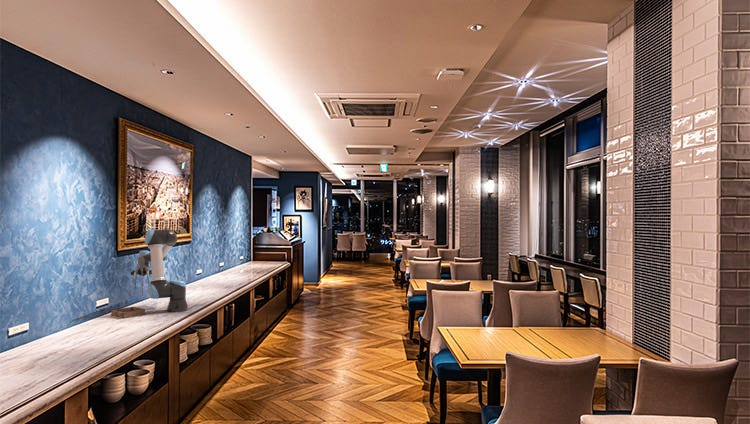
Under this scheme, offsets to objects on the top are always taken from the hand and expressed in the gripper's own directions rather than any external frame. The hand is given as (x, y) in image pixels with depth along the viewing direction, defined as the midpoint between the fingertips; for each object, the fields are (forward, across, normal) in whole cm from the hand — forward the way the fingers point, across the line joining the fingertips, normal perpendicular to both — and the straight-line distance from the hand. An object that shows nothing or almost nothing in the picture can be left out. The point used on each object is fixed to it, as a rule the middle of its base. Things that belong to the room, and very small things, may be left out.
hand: (141, 274), depth 368 cm
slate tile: (-5, 0, -28) cm, 28 cm away
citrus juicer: (-5, 0, -16) cm, 17 cm away
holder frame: (+16, +7, -28) cm, 33 cm away
